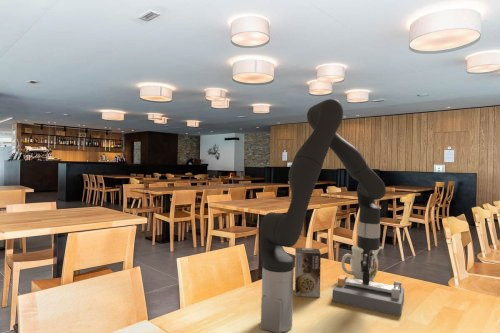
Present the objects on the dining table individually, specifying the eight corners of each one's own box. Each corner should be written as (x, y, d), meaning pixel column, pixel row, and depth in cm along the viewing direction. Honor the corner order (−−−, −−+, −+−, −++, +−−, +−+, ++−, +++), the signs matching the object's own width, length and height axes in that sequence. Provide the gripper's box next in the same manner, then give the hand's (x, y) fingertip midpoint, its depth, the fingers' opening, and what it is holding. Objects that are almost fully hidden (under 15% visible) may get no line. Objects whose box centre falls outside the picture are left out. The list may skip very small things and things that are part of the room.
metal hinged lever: (398, 295, 114) (398, 290, 114) (344, 285, 122) (344, 280, 122) (400, 290, 119) (400, 285, 119) (348, 280, 127) (348, 276, 127)
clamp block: (400, 316, 109) (401, 294, 108) (332, 301, 119) (332, 281, 119) (404, 298, 123) (404, 279, 123) (342, 286, 133) (343, 268, 133)
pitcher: (335, 276, 145) (336, 244, 145) (374, 274, 148) (375, 243, 148) (346, 285, 134) (348, 251, 134) (388, 283, 137) (389, 250, 137)
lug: (343, 286, 123) (343, 279, 122) (337, 285, 123) (338, 278, 123) (346, 282, 127) (346, 275, 127) (341, 281, 128) (341, 274, 128)
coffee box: (318, 290, 128) (319, 248, 128) (320, 297, 122) (321, 253, 121) (294, 289, 129) (295, 247, 129) (294, 296, 123) (295, 251, 122)
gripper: (377, 240, 113) (374, 291, 114) (382, 232, 125) (379, 279, 126) (354, 236, 117) (351, 286, 117) (361, 230, 128) (358, 275, 129)
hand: (366, 282), depth 121 cm, fingers closed
